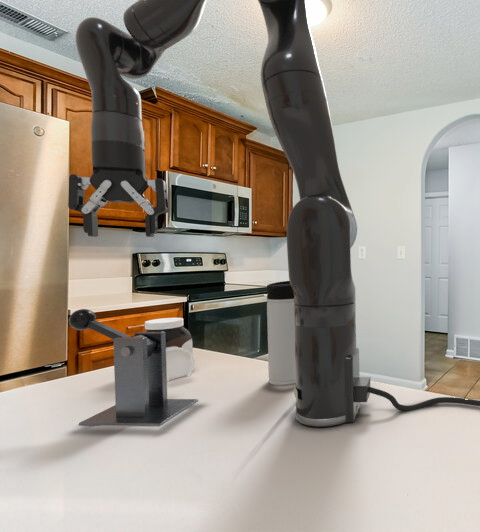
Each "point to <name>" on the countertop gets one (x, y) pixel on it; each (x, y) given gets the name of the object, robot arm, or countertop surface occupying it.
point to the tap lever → (101, 327)
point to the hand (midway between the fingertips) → (122, 236)
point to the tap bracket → (140, 385)
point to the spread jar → (175, 346)
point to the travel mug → (281, 334)
